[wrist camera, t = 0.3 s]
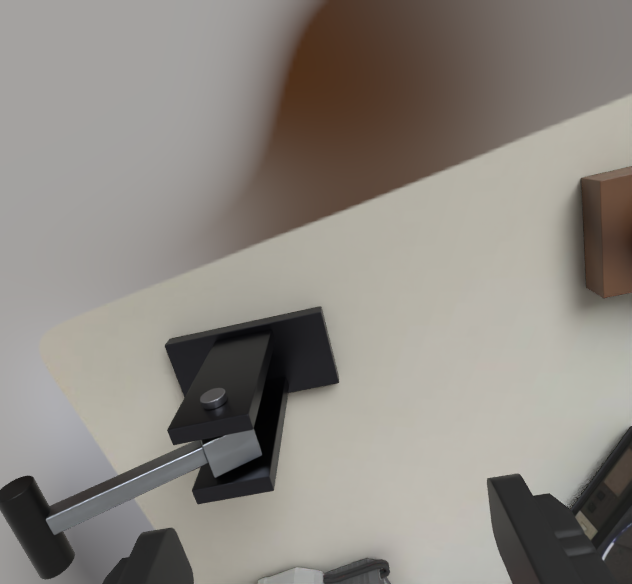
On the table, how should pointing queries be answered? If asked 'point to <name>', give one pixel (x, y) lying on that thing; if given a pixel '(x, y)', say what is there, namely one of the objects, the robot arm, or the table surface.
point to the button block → (608, 232)
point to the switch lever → (108, 496)
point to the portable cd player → (611, 511)
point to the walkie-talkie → (335, 574)
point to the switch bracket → (247, 390)
